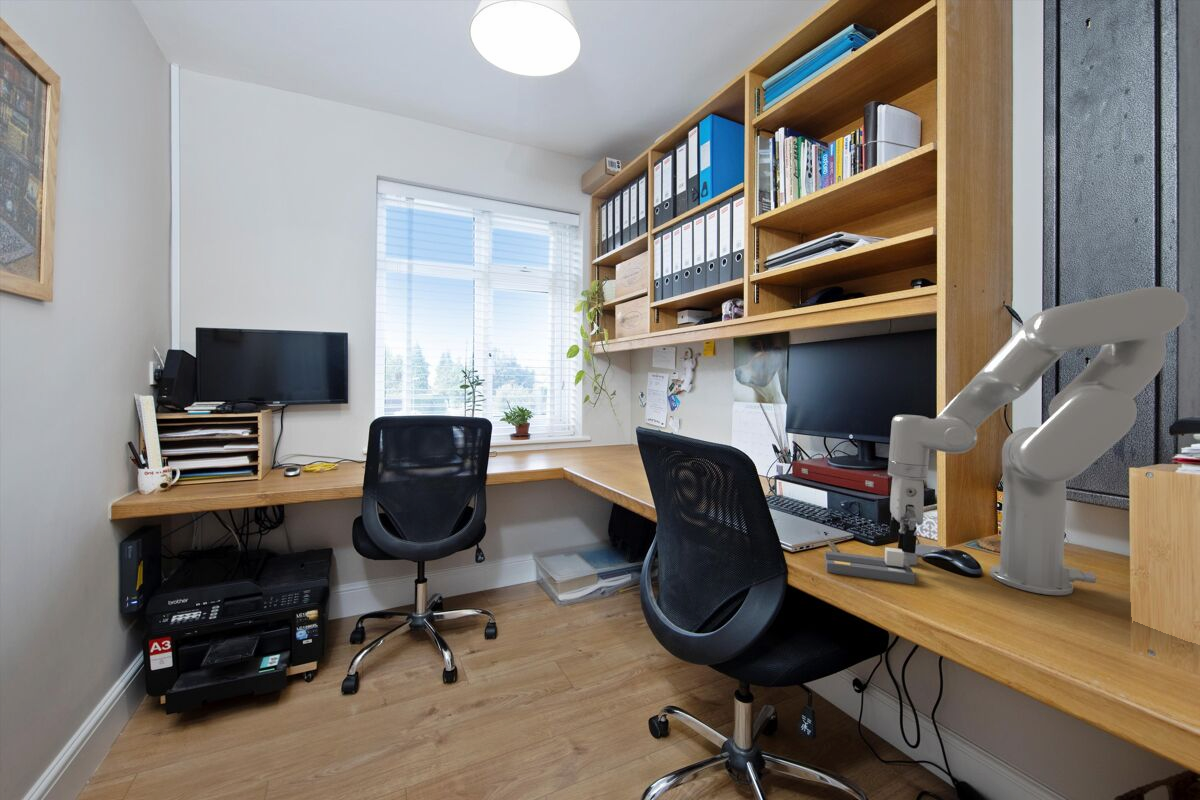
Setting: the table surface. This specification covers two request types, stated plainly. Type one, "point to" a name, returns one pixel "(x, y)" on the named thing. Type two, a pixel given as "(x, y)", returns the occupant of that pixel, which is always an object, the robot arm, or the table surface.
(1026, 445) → the robot arm
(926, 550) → the rest mat
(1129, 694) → the table surface
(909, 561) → the rook chess piece
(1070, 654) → the table surface
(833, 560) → the grey rectangular tray
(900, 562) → the switch tab
